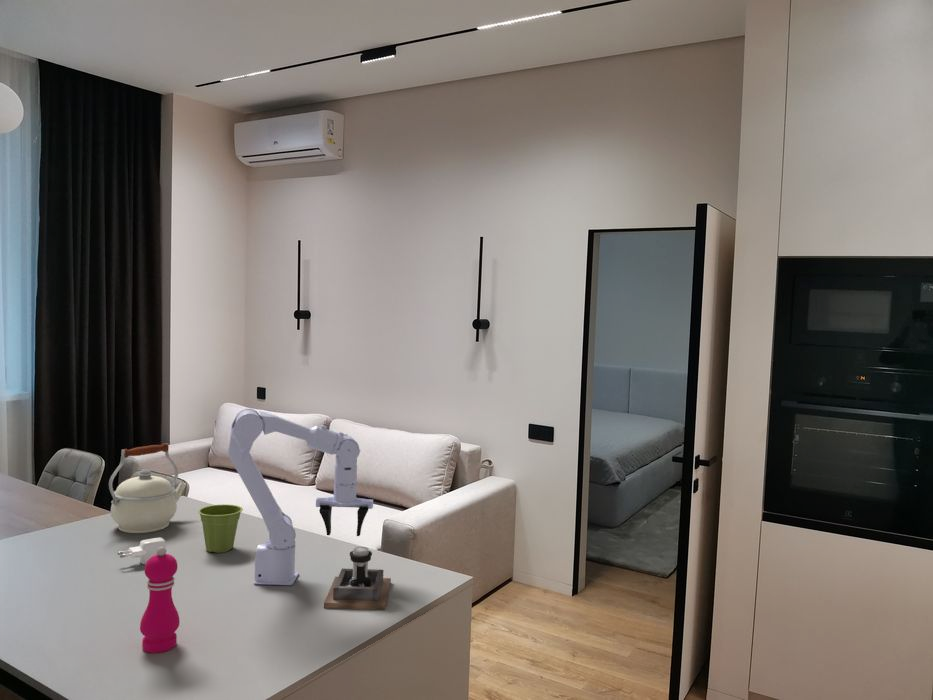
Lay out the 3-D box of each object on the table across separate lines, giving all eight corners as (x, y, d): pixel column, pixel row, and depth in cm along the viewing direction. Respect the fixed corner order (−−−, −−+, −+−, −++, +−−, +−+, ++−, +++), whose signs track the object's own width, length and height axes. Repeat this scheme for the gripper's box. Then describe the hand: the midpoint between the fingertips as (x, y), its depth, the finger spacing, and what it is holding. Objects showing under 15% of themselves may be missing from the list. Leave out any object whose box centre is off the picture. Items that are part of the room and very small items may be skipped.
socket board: (323, 607, 158) (324, 590, 158) (335, 581, 174) (335, 565, 174) (384, 609, 158) (385, 592, 158) (390, 582, 174) (391, 567, 174)
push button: (348, 597, 162) (350, 555, 161) (339, 589, 166) (341, 548, 166) (374, 591, 165) (375, 550, 165) (364, 584, 170) (366, 544, 169)
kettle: (126, 541, 197) (128, 455, 196) (92, 528, 207) (93, 446, 206) (202, 522, 218) (204, 444, 217) (167, 511, 228) (169, 436, 227)
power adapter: (120, 570, 175) (121, 548, 175) (116, 565, 179) (116, 542, 179) (166, 562, 182) (167, 540, 182) (161, 557, 186) (161, 535, 186)
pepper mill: (147, 637, 141) (149, 540, 140) (184, 637, 141) (186, 541, 140) (133, 654, 133) (135, 553, 132) (172, 654, 134) (174, 553, 133)
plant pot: (250, 547, 196) (251, 508, 195) (215, 559, 186) (216, 518, 185) (223, 539, 202) (224, 501, 202) (188, 549, 192) (189, 510, 192)
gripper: (314, 485, 174) (312, 538, 174) (371, 487, 174) (369, 540, 175) (319, 479, 181) (317, 530, 181) (374, 480, 181) (373, 531, 182)
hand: (343, 534), depth 179 cm, fingers open, 7 cm apart
